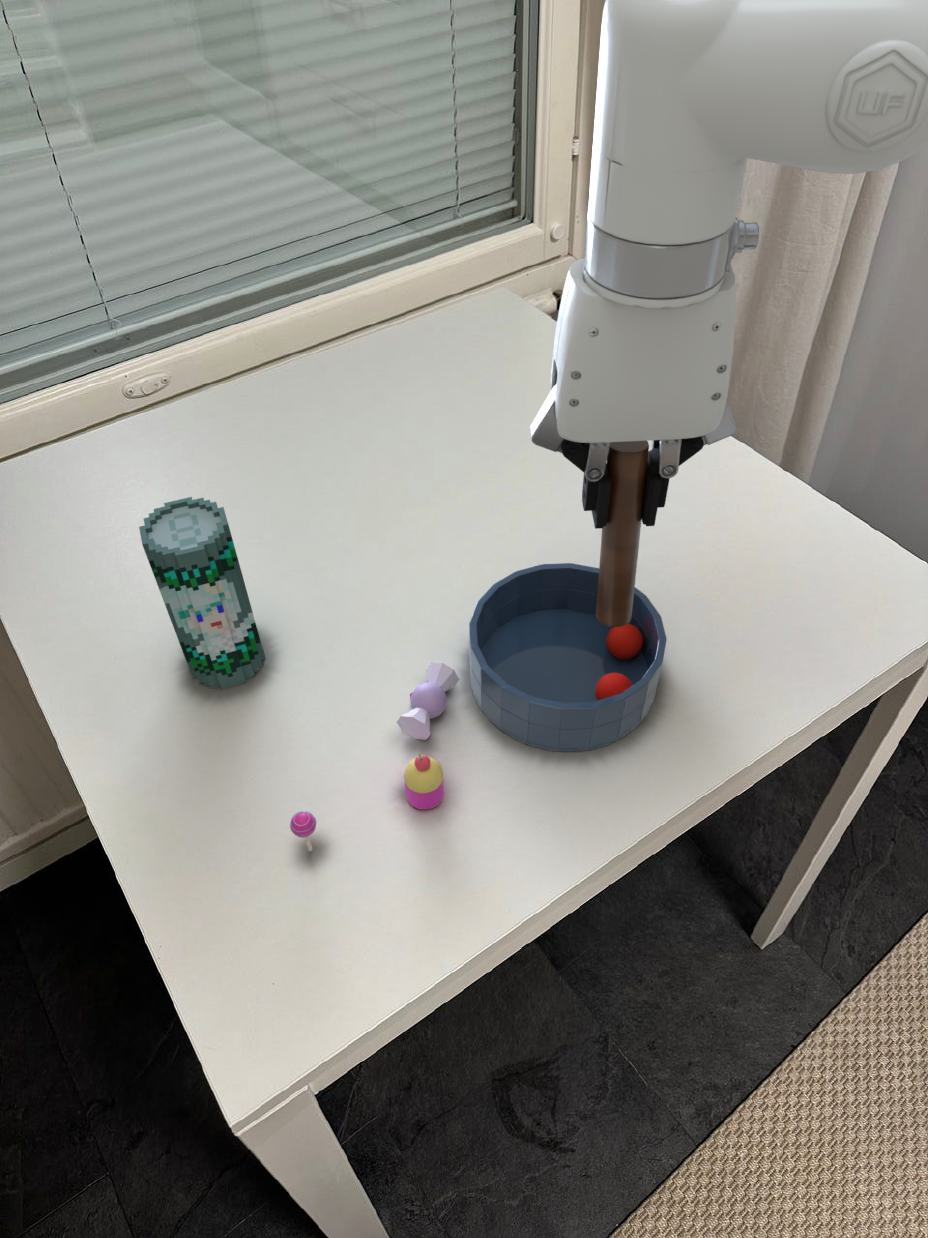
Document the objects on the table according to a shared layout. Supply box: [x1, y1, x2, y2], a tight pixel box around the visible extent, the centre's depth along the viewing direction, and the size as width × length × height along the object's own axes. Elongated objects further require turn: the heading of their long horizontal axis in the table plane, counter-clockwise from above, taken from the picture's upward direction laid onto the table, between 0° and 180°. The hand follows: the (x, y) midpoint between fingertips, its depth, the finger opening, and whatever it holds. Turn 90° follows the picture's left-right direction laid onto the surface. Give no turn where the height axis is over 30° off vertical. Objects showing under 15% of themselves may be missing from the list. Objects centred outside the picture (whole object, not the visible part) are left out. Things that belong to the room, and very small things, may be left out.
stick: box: [596, 441, 650, 627], centre depth 61 cm, size 3×3×14 cm
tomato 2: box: [595, 673, 633, 700], centre depth 70 cm, size 3×3×3 cm
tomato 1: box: [606, 624, 643, 660], centre depth 73 cm, size 3×3×3 cm
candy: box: [289, 662, 460, 853], centre depth 65 cm, size 18×8×6 cm, turn 157°
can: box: [138, 496, 266, 690], centre depth 70 cm, size 6×6×15 cm
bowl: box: [468, 562, 668, 753], centre depth 72 cm, size 15×15×6 cm
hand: (621, 512), depth 61 cm, fingers closed on stick, 2 cm apart
